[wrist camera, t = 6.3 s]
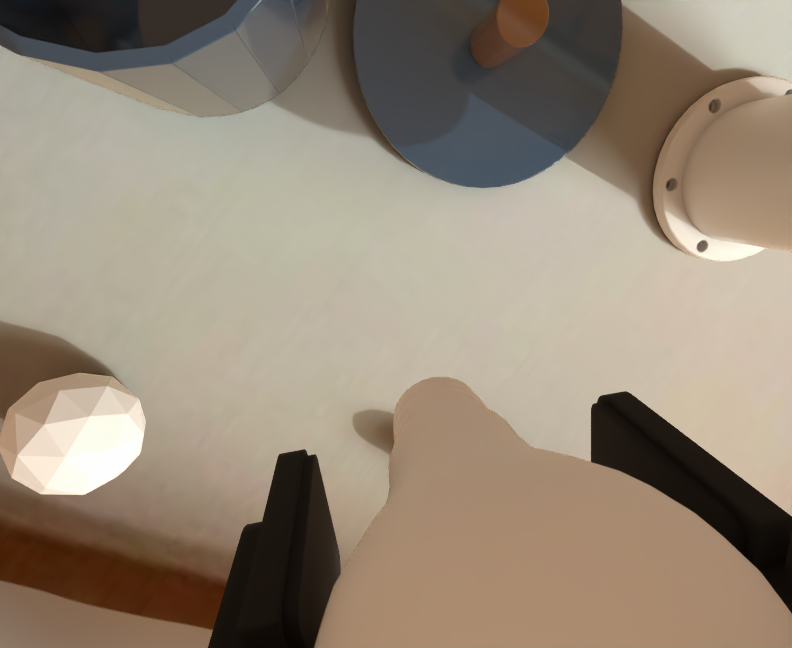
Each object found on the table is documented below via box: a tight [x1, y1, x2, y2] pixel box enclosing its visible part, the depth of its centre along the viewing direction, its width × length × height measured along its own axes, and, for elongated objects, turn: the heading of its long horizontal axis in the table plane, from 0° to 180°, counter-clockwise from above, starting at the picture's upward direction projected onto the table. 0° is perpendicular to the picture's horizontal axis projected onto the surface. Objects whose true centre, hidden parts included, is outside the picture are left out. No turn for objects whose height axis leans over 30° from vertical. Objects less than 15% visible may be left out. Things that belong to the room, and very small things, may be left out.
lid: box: [353, 0, 623, 188], centre depth 26 cm, size 17×17×6 cm
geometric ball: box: [0, 373, 146, 495], centre depth 29 cm, size 8×8×8 cm
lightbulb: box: [314, 377, 792, 648], centre depth 8 cm, size 6×6×11 cm
